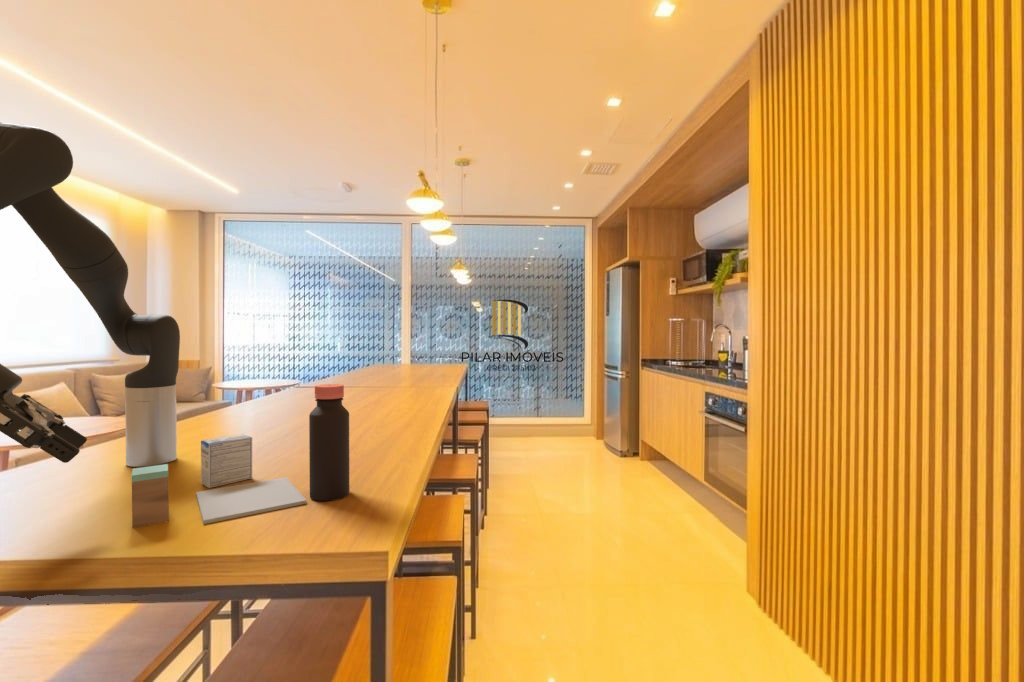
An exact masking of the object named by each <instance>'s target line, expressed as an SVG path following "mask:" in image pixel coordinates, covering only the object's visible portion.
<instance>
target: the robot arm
mask: <svg viewBox="0 0 1024 682" xmlns="http://www.w3.org/2000/svg"><path fill="white" fill-rule="evenodd" d="M73 167H74V157H73V154H72V151H71V149H70V148H69V145H68V144H67V143H66V142H65V140H63V139H62V138H61V137H60V136H59V135H58V134H56V133H54V132H52V131H51V130H50V131H49V130H47V129H44V128H41V127H36V126H33V125H24V124H18V123H12V122H11V123H9V122H1V121H0V211H1V210H4V209H5V208H8V207H10V206H12V207H13V209H15V211H16V212H17V213H18V214H19V215H20V217H22V219H23V220H24V221H25V223H26V224H27V225H28V226H29V228H31V230H32V231H33V232H34V234H35V235H36V236H37V237H38V239H40V242H41V243H43V245H44V246H45V247H46V249H47V250H48V252H50V254H51V255H52V257H53V258H54V260H55V261H56V262H57V264H58V265H59V266H60V268H61V269H62V270H63V271H64V273H65V274H66V275H67V276H68V278H69V279H70V280H71V281H72V282H73V284H74V285H75V286H76V287H77V288H78V290H79V291H80V292H81V293H82V295H83V297H85V299H86V300H87V302H88V303H89V304H90V306H91V308H92V309H93V310H94V312H95V313H96V314H97V315H96V316H98V318H99V319H100V321H101V323H102V324H103V326H104V328H105V330H106V331H107V333H108V334H109V336H110V338H111V340H112V341H113V343H114V344H115V346H116V347H117V348H118V349H119V350H120V351H121V352H123V353H124V354H126V355H130V356H138V357H139V356H144V357H145V356H149V359H148V363H147V364H146V365H145V366H144V367H142V368H140V369H137V370H134V371H131V372H128V373H127V374H126V375H125V378H124V405H125V406H124V409H125V412H124V414H125V415H124V417H125V420H124V421H125V465H126V466H128V467H134V468H135V467H136V468H141V467H149V466H156V465H164V464H169V463H171V462H173V461H176V460H177V459H178V457H177V456H178V455H177V454H178V453H177V452H178V451H177V449H178V448H177V447H178V446H177V444H178V443H177V442H178V439H177V438H178V434H177V429H178V428H177V422H178V421H177V377H178V372H179V366H180V364H179V363H180V343H181V334H180V328H179V324H178V322H177V320H176V319H175V318H174V317H173V316H172V315H167V314H138V313H136V312H135V311H133V309H132V308H131V307H130V306H129V303H128V302H127V300H126V299H125V291H126V287H127V283H128V279H129V267H128V263H127V262H126V260H125V258H124V256H123V255H122V254H121V252H120V251H119V249H118V247H117V246H116V244H115V243H114V242H113V240H112V239H111V237H110V236H109V235H108V234H107V233H106V232H105V231H103V230H102V229H101V228H100V227H99V226H97V225H96V223H94V222H92V221H91V220H90V219H89V218H88V217H86V216H85V215H84V214H82V213H80V212H79V211H78V210H76V209H75V208H74V207H72V206H71V205H70V204H69V203H67V202H66V201H65V200H64V199H63V198H62V197H61V196H60V195H59V194H58V193H57V192H56V191H55V190H54V188H53V187H55V186H57V185H60V184H62V183H63V182H64V181H65V180H66V179H68V177H69V176H70V175H71V172H72V169H73ZM22 382H23V378H22V377H21V376H20V375H18V374H17V373H15V372H14V371H12V370H10V369H9V368H7V367H6V366H4V364H2V363H0V432H1V433H2V434H4V435H5V436H7V437H9V438H11V439H12V440H13V441H15V442H17V443H18V444H20V445H22V447H24V448H27V449H31V448H34V449H40V450H42V451H43V452H45V453H47V454H48V455H50V456H51V457H53V458H55V459H57V460H58V461H60V462H61V463H64V464H65V463H66V464H67V463H69V462H70V461H72V460H73V459H74V458H75V457H76V456H77V455H78V454H80V452H81V451H80V450H81V449H80V448H81V447H82V446H83V445H85V444H86V442H87V440H88V438H87V436H84V435H82V434H81V433H80V432H78V431H77V430H75V429H74V428H72V427H70V426H69V425H68V424H66V421H65V420H64V417H63V416H62V415H61V414H58V413H57V412H55V411H53V410H52V409H50V408H48V407H47V406H46V405H44V404H42V403H41V402H39V401H37V400H36V399H34V398H33V397H31V395H29V394H22V395H21V396H18V395H17V394H14V393H13V391H14V390H15V389H16V388H17V387H19V386H20V384H22Z"/></svg>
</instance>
